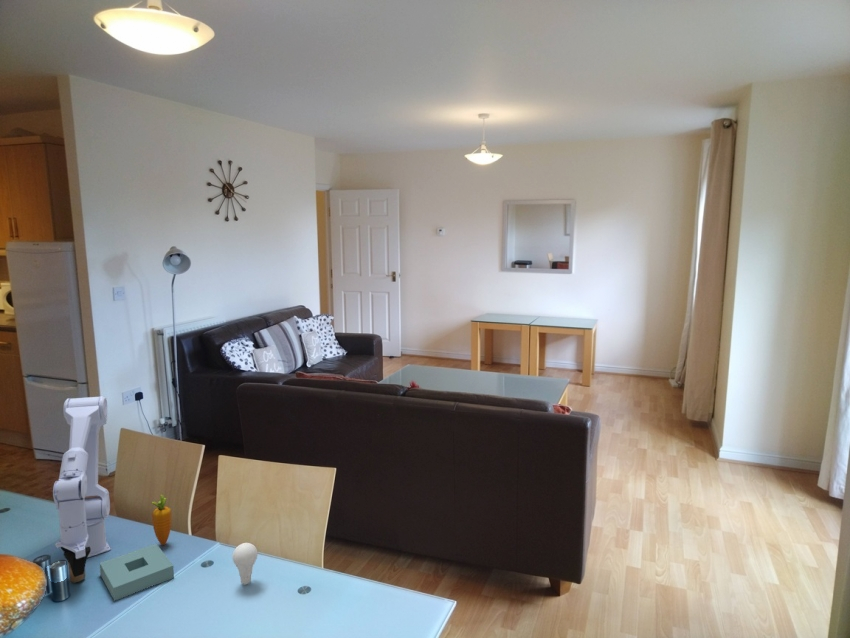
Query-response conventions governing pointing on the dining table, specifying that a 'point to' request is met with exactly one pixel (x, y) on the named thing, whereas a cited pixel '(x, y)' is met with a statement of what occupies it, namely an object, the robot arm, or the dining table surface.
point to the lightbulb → (245, 561)
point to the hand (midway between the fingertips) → (77, 571)
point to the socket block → (136, 571)
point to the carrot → (162, 521)
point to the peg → (77, 578)
